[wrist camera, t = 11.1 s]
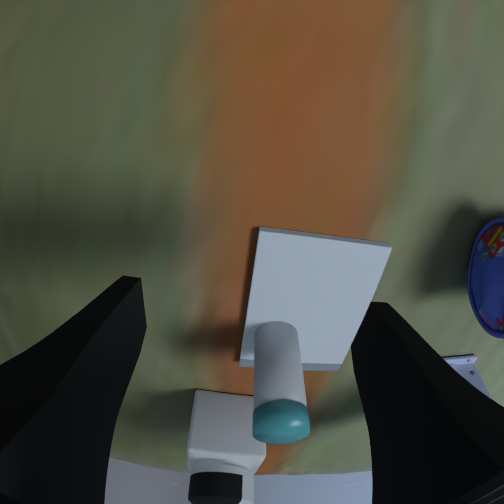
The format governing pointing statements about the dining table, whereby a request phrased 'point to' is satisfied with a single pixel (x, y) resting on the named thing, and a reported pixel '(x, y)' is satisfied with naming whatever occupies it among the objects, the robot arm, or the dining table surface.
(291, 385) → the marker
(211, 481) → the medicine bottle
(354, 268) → the note pad
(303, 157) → the dining table surface
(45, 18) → the dining table surface
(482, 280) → the pencil case
